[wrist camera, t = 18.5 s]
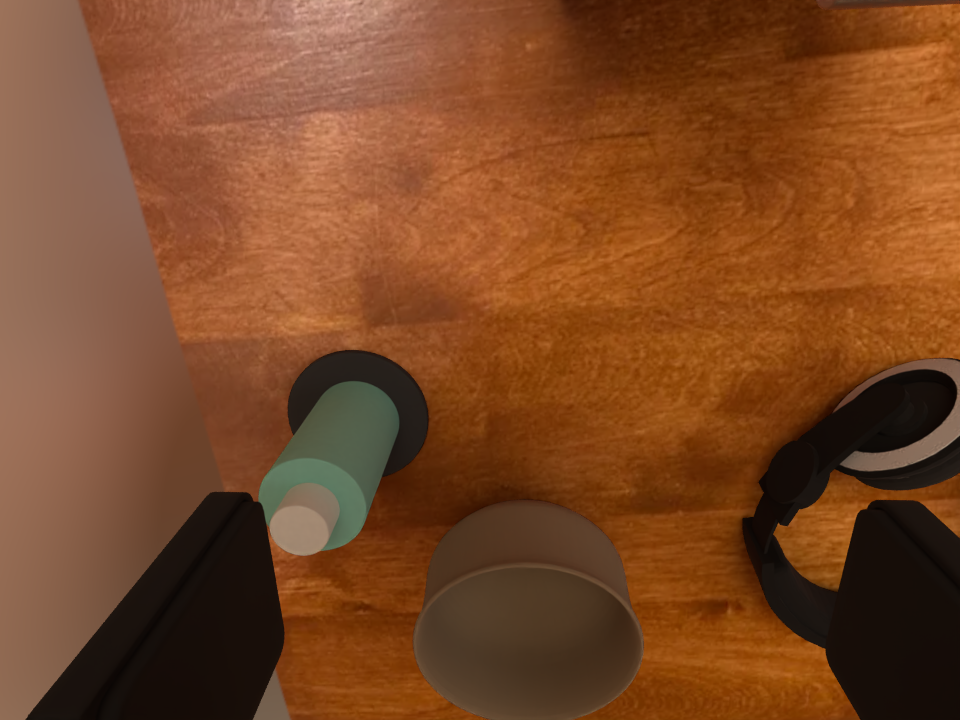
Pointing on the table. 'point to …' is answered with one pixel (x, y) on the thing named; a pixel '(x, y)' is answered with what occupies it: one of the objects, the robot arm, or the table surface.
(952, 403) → the headphones
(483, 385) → the table surface
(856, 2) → the lid
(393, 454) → the coaster
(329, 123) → the table surface
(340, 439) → the bottle
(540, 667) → the bowl
